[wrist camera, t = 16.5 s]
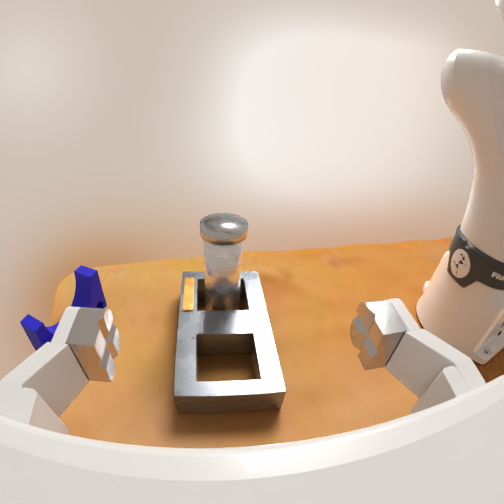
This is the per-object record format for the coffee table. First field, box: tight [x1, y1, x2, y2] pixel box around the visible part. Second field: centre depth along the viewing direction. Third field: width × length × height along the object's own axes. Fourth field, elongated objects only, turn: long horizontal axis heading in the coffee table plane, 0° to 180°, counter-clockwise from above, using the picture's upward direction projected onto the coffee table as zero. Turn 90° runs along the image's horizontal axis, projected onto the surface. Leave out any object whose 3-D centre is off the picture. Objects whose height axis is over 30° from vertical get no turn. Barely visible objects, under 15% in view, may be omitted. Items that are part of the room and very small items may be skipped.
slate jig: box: [174, 271, 286, 413], centre depth 33 cm, size 10×19×4 cm, turn 7°
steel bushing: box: [200, 213, 248, 311], centre depth 35 cm, size 5×5×13 cm
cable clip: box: [20, 266, 107, 351], centre depth 31 cm, size 12×4×6 cm, turn 165°
